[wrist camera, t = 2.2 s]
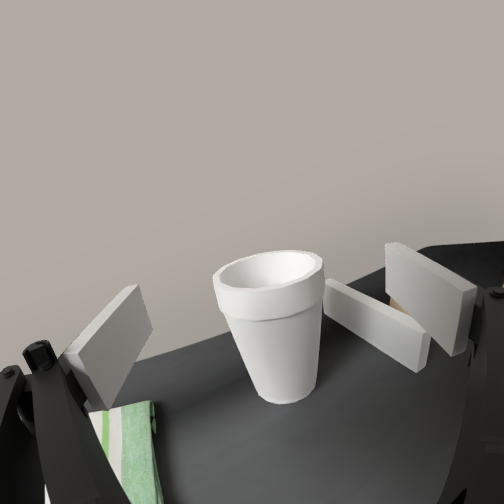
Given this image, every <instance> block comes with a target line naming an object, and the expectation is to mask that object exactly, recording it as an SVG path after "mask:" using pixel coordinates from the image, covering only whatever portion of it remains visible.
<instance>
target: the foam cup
mask: <svg viewBox="0 0 504 504" xmlns="http://www.w3.org/2000/svg"><path fill="white" fill-rule="evenodd" d="M213 284H214V288H215V293H216V297H217V301H218V305H219V309H220V311H222V312H223V313H224V315H225V318H226V320H227V323H228V325H229V327H230V330H231V332H232V335H233V337H234V340H235V342H236V344H237V347H238V349H239V351H240V354H241V356H242V358H243V361H244V363H245V365H246V368H247V370H248V372H249V374H250V377H251V379H252V381H253V384H254V386H255V388H256V390H257V391H258V394H259V395H260V396H261V397H262V398H264V399H265V400H266V401H268V402H272V403H277V404H286V403H294V402H297V401H299V400H301V399H303V398H305V397H307V396H308V395H309V394H310V393H311V392H312V390H313V389H314V388H315V384H316V377H317V368H318V357H319V345H320V331H321V315H322V297H323V296H324V291H325V277H324V267H323V260H322V258H320V257H319V256H317V255H316V254H314V253H311V252H305V251H299V250H288V251H287V250H286V251H273V252H267V253H260V254H255V255H252V256H248V257H245V258H242V259H238V260H236V261H233V262H231V263H229V264H227V265H225V266H223V267H222V268H220V269H219V270H218V271H217V272H216V273H215V274H214V275H213Z"/></svg>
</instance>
